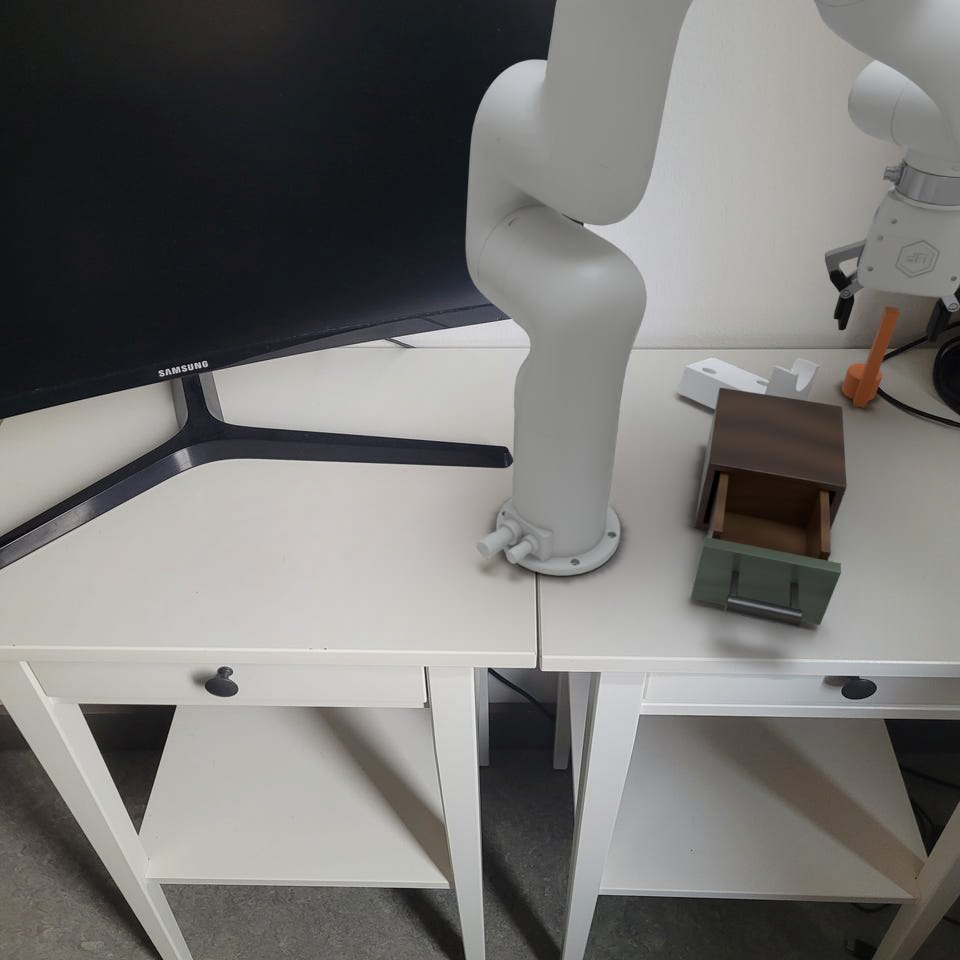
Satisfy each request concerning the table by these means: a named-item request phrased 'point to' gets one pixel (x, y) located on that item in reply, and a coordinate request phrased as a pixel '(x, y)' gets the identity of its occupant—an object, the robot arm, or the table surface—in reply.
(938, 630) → the table surface
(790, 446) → the cabinet
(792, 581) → the drawer
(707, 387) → the bracket
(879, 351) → the scoop
